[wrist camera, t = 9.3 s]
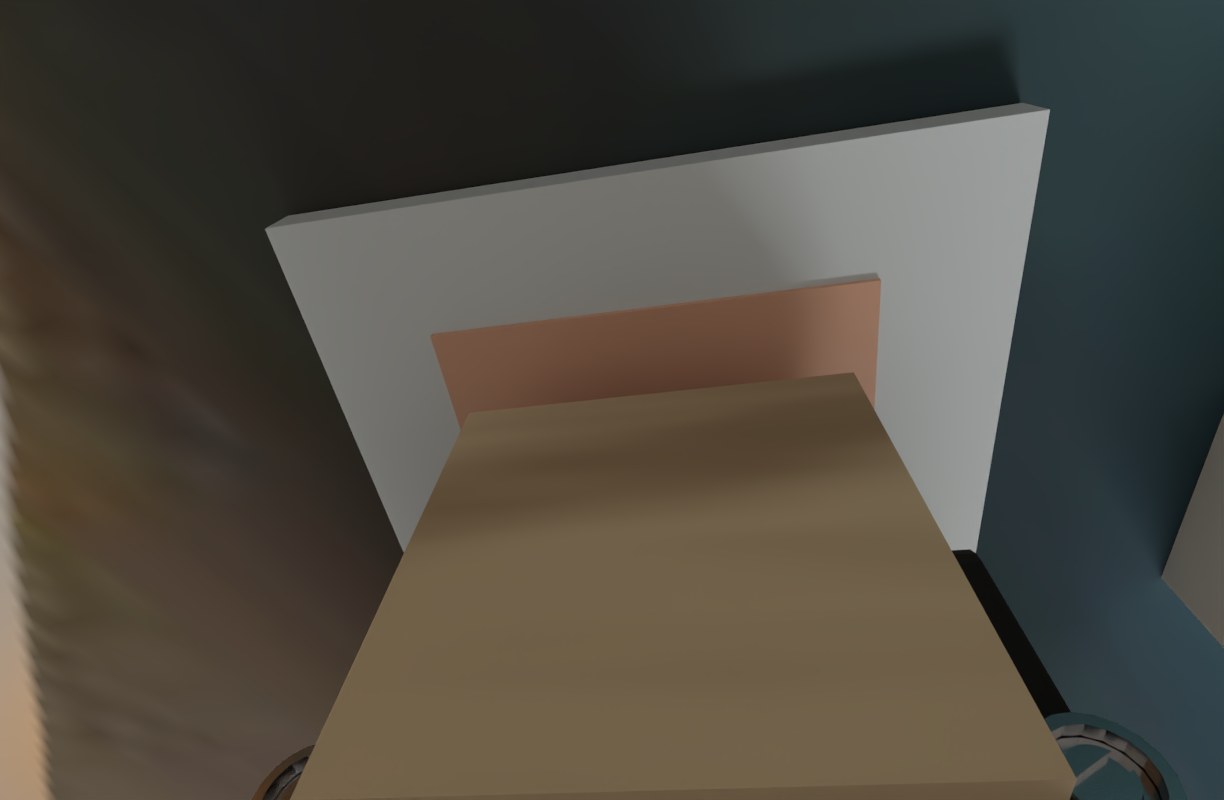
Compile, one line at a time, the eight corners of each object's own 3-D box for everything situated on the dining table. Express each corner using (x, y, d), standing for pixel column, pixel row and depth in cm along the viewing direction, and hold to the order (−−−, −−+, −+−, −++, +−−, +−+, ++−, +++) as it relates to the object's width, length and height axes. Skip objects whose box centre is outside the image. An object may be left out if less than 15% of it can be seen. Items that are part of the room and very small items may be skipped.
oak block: (468, 412, 10) (289, 800, 5) (853, 371, 10) (1076, 779, 5) (545, 656, 13) (478, 1053, 8) (843, 640, 13) (972, 1068, 8)
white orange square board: (288, 215, 11) (261, 230, 11) (1022, 102, 10) (1053, 110, 9) (470, 663, 17) (461, 693, 17) (943, 636, 16) (958, 669, 15)
